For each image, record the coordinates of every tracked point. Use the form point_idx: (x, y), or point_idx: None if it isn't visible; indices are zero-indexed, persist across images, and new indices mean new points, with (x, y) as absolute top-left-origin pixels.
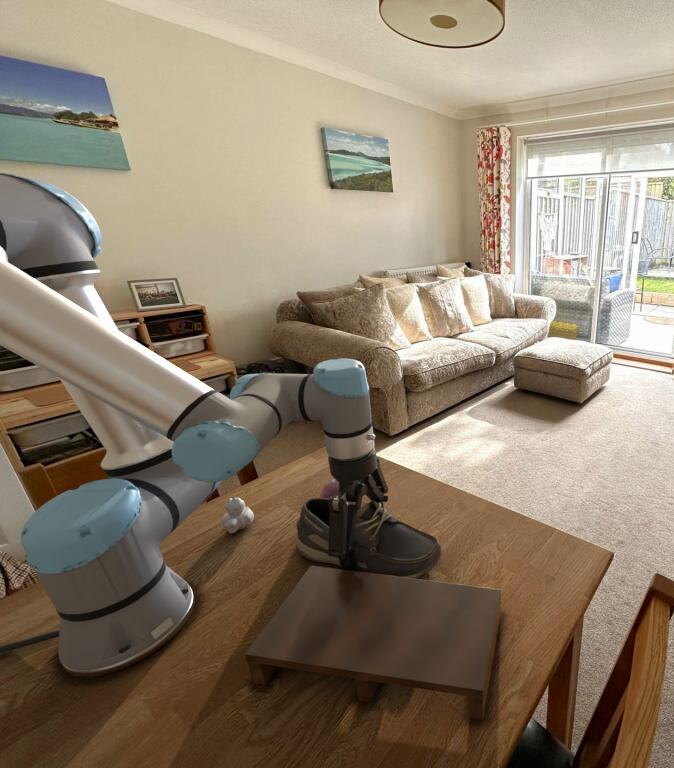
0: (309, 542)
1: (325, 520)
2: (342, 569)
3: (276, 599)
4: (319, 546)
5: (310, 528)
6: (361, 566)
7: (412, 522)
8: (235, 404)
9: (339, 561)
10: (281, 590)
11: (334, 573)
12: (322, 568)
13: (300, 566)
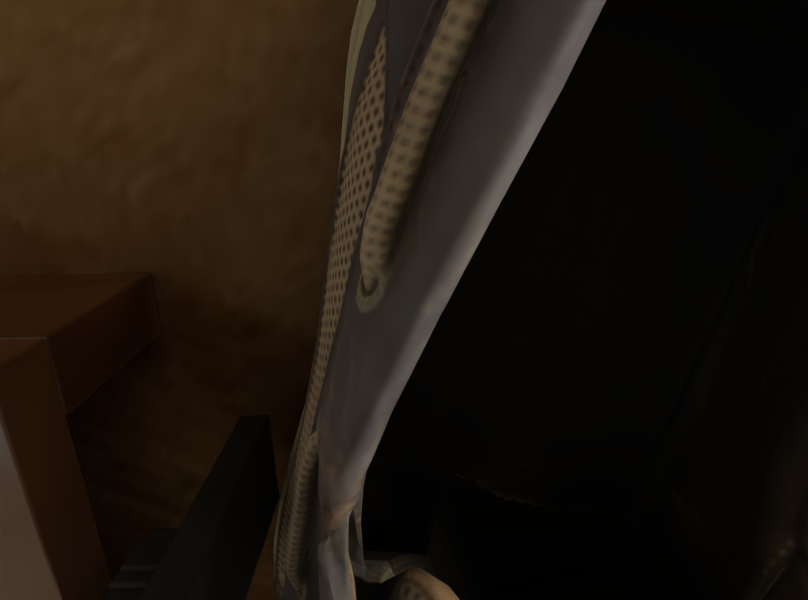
0: (356, 77)
1: (735, 17)
2: (221, 458)
3: (11, 44)
4: (334, 212)
5: (416, 61)
6: (279, 552)
7: None
8: None
9: (109, 584)
10: (80, 27)
11: (7, 588)
12: (7, 482)
13: (301, 22)
